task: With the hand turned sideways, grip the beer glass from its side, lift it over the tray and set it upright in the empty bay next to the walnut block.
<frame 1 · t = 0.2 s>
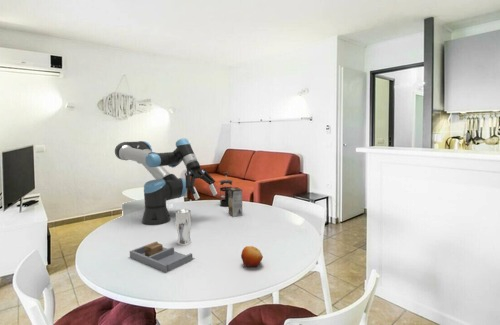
hand: (206, 196, 158), 15 cm above the table, tool tilted 35°, fingers open, 13 cm apart
french press: (226, 205, 200), on the table
walnut block: (153, 254, 118), resting on tray
beer glass: (184, 243, 131), on the table
coffee box: (235, 214, 176), on the table
fruit: (252, 265, 109), on the table
tray: (162, 259, 115), on the table
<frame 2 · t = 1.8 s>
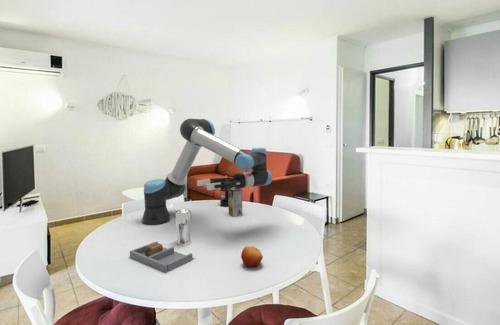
hand: (201, 185, 133), 26 cm above the table, tool horizontal, fingers open, 13 cm apart
nothing on the table moved.
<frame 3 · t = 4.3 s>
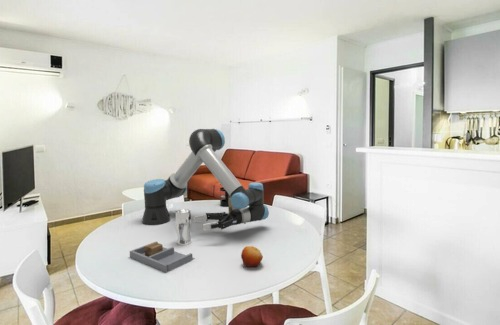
hand: (198, 223, 133), 8 cm above the table, tool horizontal, fingers open, 13 cm apart
nothing on the table moved.
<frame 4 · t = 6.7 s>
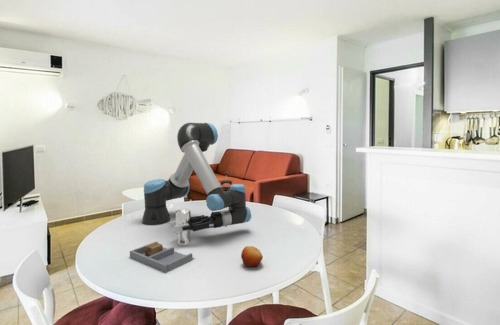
hand: (172, 227, 128), 9 cm above the table, tool horizontal, fingers closed on beer glass, 7 cm apart
beer glass: (184, 243, 131), on the table, touching gripper
everything else where it was.
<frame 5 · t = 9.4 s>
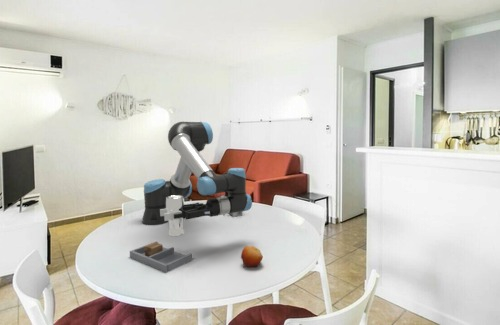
hand: (162, 215, 112), 18 cm above the table, tool horizontal, fingers closed on beer glass, 7 cm apart
beer glass: (176, 234, 115), point 10 cm above the table, touching gripper
everything else where it was.
when the fingers open (9 cm above the table, at t = 12.3 s): beer glass stays where it is, resting on tray.
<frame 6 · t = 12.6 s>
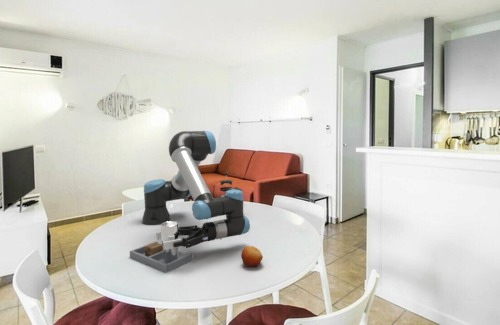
hand: (160, 240, 109), 9 cm above the table, tool horizontal, fingers open, 11 cm apart
beer glass: (171, 261, 112), resting on tray
everything else where it was.
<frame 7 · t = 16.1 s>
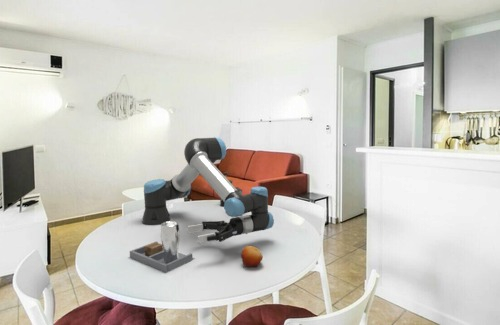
hand: (192, 234, 115), 10 cm above the table, tool horizontal, fingers open, 13 cm apart
nothing on the table moved.
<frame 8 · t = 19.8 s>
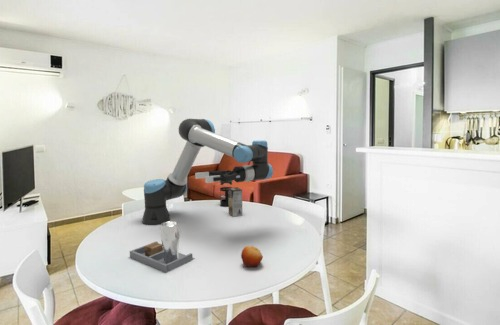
hand: (200, 177, 128), 30 cm above the table, tool horizontal, fingers open, 13 cm apart
nothing on the table moved.
at the end: beer glass 0.3 cm from the target spot on the tray, point 0.3 cm above the tray's base; beer glass tilted 0°; the gripper is holding nothing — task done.
